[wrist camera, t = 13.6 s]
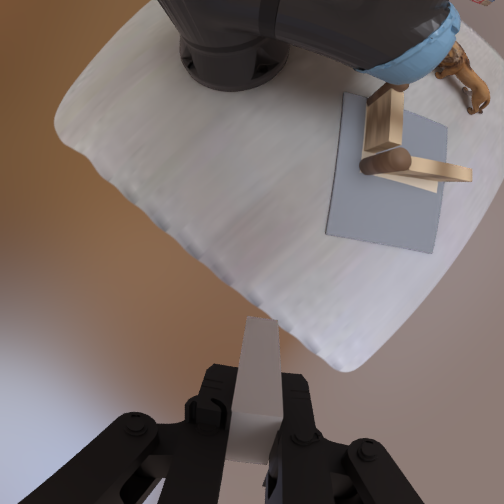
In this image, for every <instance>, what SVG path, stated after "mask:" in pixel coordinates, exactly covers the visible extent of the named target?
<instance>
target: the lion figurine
mask: <svg viewBox="0 0 504 504" xmlns="http://www.w3.org/2000/svg"><path fill="white" fill-rule="evenodd" d="M438 66H439V67H440V68H445V69H444V70H443V71H442V72H441V73H439V72H436V73H435V75H436V77H437V78H438V79H442V78H444V77H446V76H448V75H454V74H455V75H456V77H457V78H458V79H459V80H460V81H461V82H462V83H463V84H464V85H465V86H467V87H468V88H470V89H471V90H472V91H468V89H467V88H466V87H463V91H464V92H465V93H466V94H468V95H470V96H472V100H471V101H472V106H473V109H472V108H470V107H469V108H468V113H469V114H471V115H472V114H475V113H477V112H478V111H479V113H481V114H482V113H483V111H482V109H484V108H485V107H486V106H487V105H488V104H489V102H490V92H489V89H488V87H487V85H486V83H485V82H484V81H483V80H482V79H481V78H480V77H479V76H478V75H477V74H476V73H475V72H474V71H473V69H472V68H471V67H470V62H469V59H468V57H467V56H466V53H465V52H464V50H463V48H462V47H461V45H460V44H458V42H457V41H455V43H454V45H453V47H452V48H451V50H450V51H449V53H448V54H447V56H446V57H445V58H444V59H443V60H442V62H441V63H440V64H439V65H438ZM483 102H484V104H483V105H482V106H481V107H480V108H479V106H480V104H481V103H483Z"/></svg>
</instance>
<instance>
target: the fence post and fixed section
mask: <svg viewBox="0 0 504 504" xmlns="http://www.w3.org/2000/svg"><path fill="white" fill-rule="evenodd" d="M408 87H409V84H402V85H394V84H390V83H387V82H386V83H385V84H384V85H383V86H382V87H380V88H379V89H378V90H377V91H376V92H375V93H374V94H372V95H371V96H370V97H369V98H368V99H367V102H366V103H367V106H368V107H367V121H366V133H365V143H364V151H366V152H370V153H374V154H375V153H378V152H381V151H384V150H387V149H390V148H394V147H397V146H400V145H402V131H403V107H404V92H403V91H405V90H406V89H407V88H408ZM411 163H412V159H411V155H410V153H409V152H408V151H407V150H406V149H405V148H402V147H398V148H395V149H391V150H388V151H385V152H382V153H379V154H375V155H372V156H369V157H366V158H363V159H362V160H361V161H360V163H359V168H360V170H361V172H362V173H363V174H365V175H375V174H382V173H390V172H398V171H405V170H408V169H409V168H410V166H411Z"/></svg>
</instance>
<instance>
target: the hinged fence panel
mask: <svg viewBox="0 0 504 504" xmlns="http://www.w3.org/2000/svg"><path fill="white" fill-rule="evenodd" d="M411 159H412V163H411V166H410V168H409V169H408V170H405V171H398V172H390V173H382V174H389V175H398V176H405V177H412V178H419V179H426V180H432V181H438V182H472V169H470V168H466V167H462V166H457V165H453V164H449V163H444V162H439V161H434V160H429V159H424V158H419V157H413V156H411Z"/></svg>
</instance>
